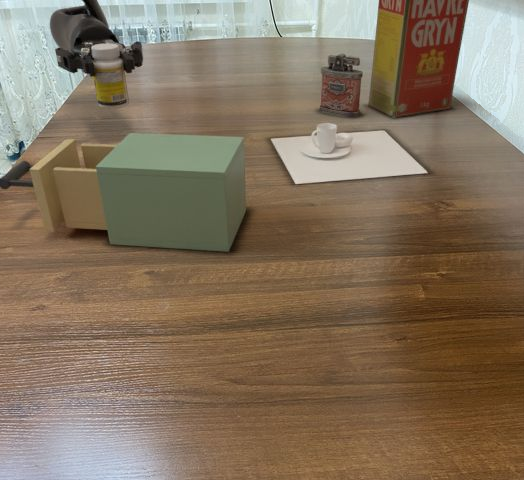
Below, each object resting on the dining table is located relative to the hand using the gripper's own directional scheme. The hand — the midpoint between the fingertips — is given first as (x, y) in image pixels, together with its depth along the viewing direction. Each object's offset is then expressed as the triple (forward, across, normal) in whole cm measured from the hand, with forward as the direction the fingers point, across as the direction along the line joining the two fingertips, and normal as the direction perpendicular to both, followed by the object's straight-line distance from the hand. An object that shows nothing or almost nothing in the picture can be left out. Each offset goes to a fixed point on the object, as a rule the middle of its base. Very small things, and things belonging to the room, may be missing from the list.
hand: (110, 67), depth 89 cm
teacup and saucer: (+14, +32, +13) cm, 37 cm away
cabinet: (+28, +2, +13) cm, 31 cm away
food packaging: (-4, +55, +13) cm, 57 cm away
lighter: (-6, +42, +13) cm, 44 cm away
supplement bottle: (-3, 0, +6) cm, 7 cm away
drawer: (+22, -8, +12) cm, 27 cm away
